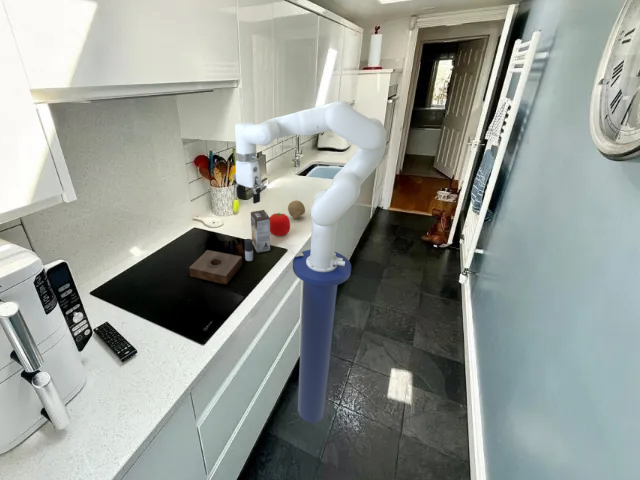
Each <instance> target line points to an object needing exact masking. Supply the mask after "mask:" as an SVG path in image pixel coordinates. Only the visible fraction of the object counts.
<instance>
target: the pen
mask: <svg viewBox="0 0 640 480" xmlns="http://www.w3.org/2000/svg"><path fill="white" fill-rule="evenodd" d="M253 247H254V246H253V244H252V238H246V239H244V254H245V255H244V259H245V261H247V262H252V261H254V250H253V249H254V248H253Z"/></svg>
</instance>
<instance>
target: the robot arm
mask: <svg viewBox="0 0 640 480" xmlns="http://www.w3.org/2000/svg"><path fill="white" fill-rule="evenodd" d="M326 132H333V133H334V134H336V135H337V136H339V137H341V138H343V139H344V140H346V141H347V142H349V143H351V144H353V145H355V146H356V147H358V148H357V150H356V151H355V153H354V154H353V155H352V157H350V159H349V160H348V161H347V162H346V163H345V164H344V166H343V167H342V168H341V169H340V170H339V171H338V172H337V173H336V174H334V176H333V178H332V182H331V186H329V188H328V189H323V190H322V189H321V190H320V191H318V192H317V193H316V194H315V196H314V198H313V200H312V204H311V208H310V218H311V234H310V250H311V251H310V256H309V257H308V258H307V260H306V264H307V266H308V267H309V268H310V269H312V270H314V271H317V272H330V271H333V270H335V269H336V267H337V265H340V266H345V261H343V258H337V257H336V253H334V252H336V241H337V231H338V222H339V221H338V220H339V219H340V218H341V217H342V216H343V215H344V214H345V213H346V212H347V211H348V210H349V209H350V208H351V207H352V206H353V205H354V204H355V203H356V201H357V200H358V198H359V197H360V195H361V189H362V188H361V186H362V185H363V183H364V182H365V181H366V180H367V179H368V177H369V176H370V175H371V174H372V173H373V172H374V170H376V169H377V167H378V166H379V164H380V163H381V162H382V160H383V157H384V155H385V152H386V148H387V130H386V128H385V125H384V124H383V122H382V121H381V120H379V118H375V117H368V116H366V115H364V114H362V113H361V112H359V111H358V110H356V109H354V108H353V106H352V105H351V103H349V102H348V101H346V100H338V101H333V102H330V103H326V104H322V105H318V106H315V107H311V108H307V109H303V110H299V111H296V112H293V113H288V114H285V115H281V116H276V117H273V118H269V119H266V120H264V121H262V122H260V123H257V124H256V123H254V122H251V121H241V122H237V123H236V124H235V125H234V135H235V136H234V137H235V138H234V139H235V140H234V141H235V156H236V161H235V173H234V174H232V175H231V177H232V179H233V183H234V184H235V185H234V186H235V189H236V197H237V198H241V197H244V196H245V192H244V191H245V189H244V187H245V188H249V189H251V190H252V193H253V194H252V203H253V204H255V205H256V204H258V203H260V202H261V193H262V191H263V190H264V186H265V183H264V182H263V181H262V178H261V177H262V176H261V170H260V165H259V161H258V156H257V146H269V145H270V144H272V143H273V142H274V141H275V140H276V139H281V138H284V137H289V136H297V135H298V136H300V137H301V136H302V137H309V136H313V135H318V134H322V133H326Z"/></svg>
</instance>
